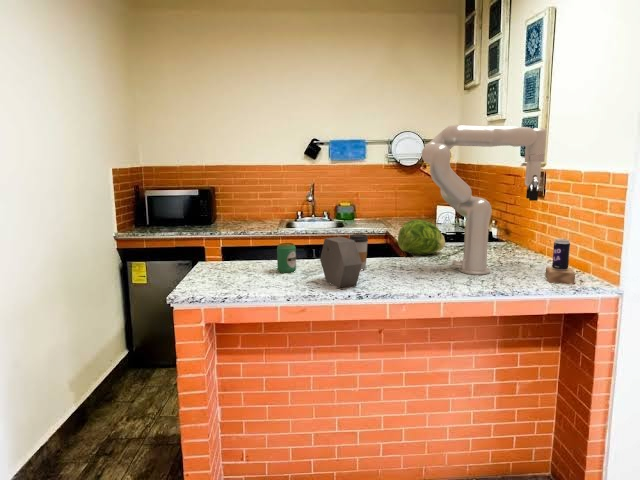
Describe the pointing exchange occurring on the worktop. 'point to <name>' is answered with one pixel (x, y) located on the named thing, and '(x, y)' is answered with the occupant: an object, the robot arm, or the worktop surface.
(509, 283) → the worktop surface
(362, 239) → the coffee cup
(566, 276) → the plinth
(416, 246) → the lettuce
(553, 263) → the beverage can
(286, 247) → the beverage can
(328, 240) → the dark hexagonal prism
